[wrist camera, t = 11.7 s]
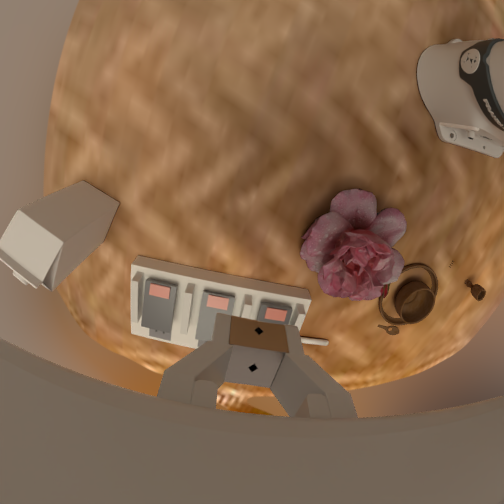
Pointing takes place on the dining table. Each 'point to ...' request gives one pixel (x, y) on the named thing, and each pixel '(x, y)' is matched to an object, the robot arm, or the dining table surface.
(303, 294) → the power strip
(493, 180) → the dining table surface
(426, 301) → the place setting
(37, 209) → the milk carton
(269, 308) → the rocker near arm
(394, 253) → the flower
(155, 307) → the rocker far end
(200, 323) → the rocker middle
